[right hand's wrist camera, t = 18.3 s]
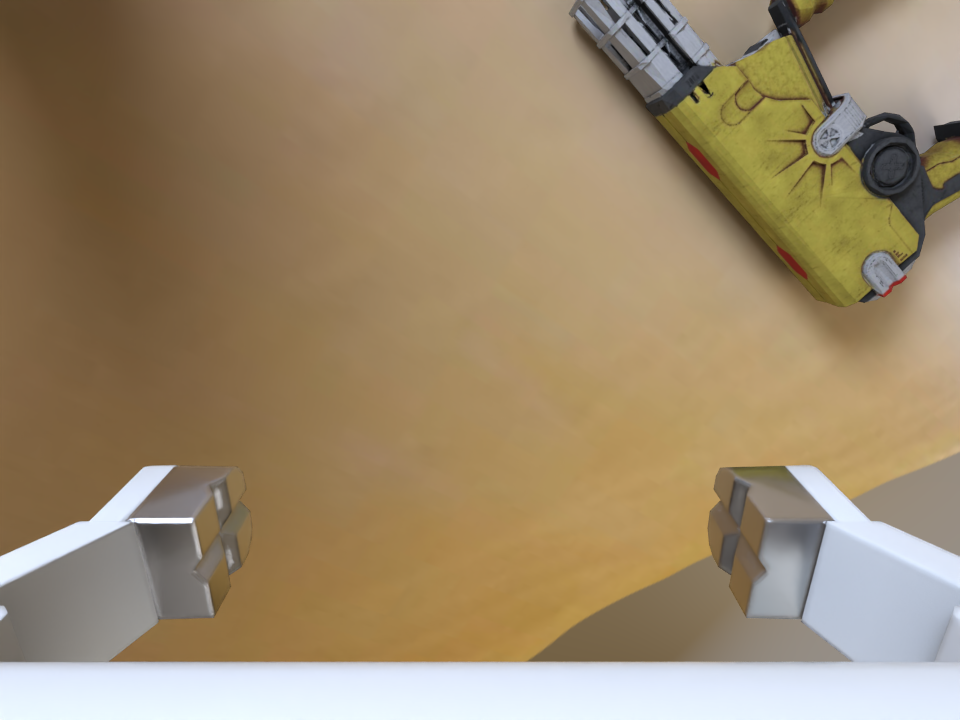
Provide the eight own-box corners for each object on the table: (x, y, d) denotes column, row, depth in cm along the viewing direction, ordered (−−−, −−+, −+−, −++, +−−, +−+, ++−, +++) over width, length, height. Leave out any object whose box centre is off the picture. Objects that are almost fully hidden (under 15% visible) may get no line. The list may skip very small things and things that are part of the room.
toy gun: (820, -276, 26) (578, -6, 29) (1092, 126, 31) (865, 326, 34) (767, -207, 31) (562, 21, 33) (1012, 135, 36) (817, 310, 38)
